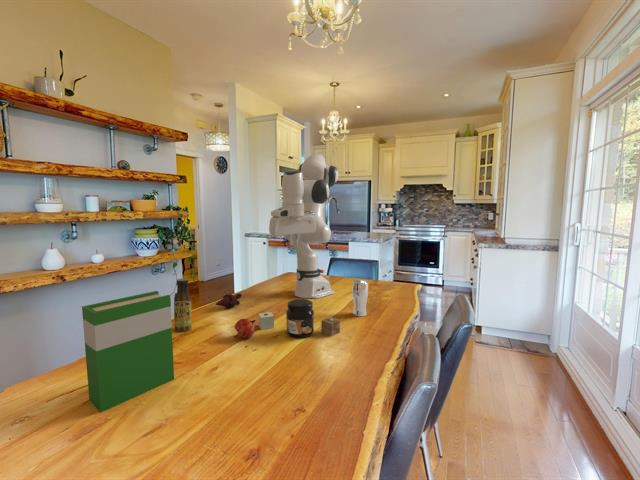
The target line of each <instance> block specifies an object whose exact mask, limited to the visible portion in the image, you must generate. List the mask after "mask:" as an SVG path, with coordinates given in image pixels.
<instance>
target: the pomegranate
mask: <svg viewBox="0 0 640 480" xmlns="http://www.w3.org/2000/svg"><path fill="white" fill-rule="evenodd" d="M255 322H257V320H256V319H253V320H250V319H249V318H240V319H239V320H237V321H236V323H235V324H234V329H235V330H236V332H237V334H236V335H233V338H236V337H238V336H240V337H241V338H242V339H244V340H246V339H249V338H251V337H252V336H253V335H254V333H255V330H256V329H255V328H256V326H255V324H254V323H255Z"/></svg>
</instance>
